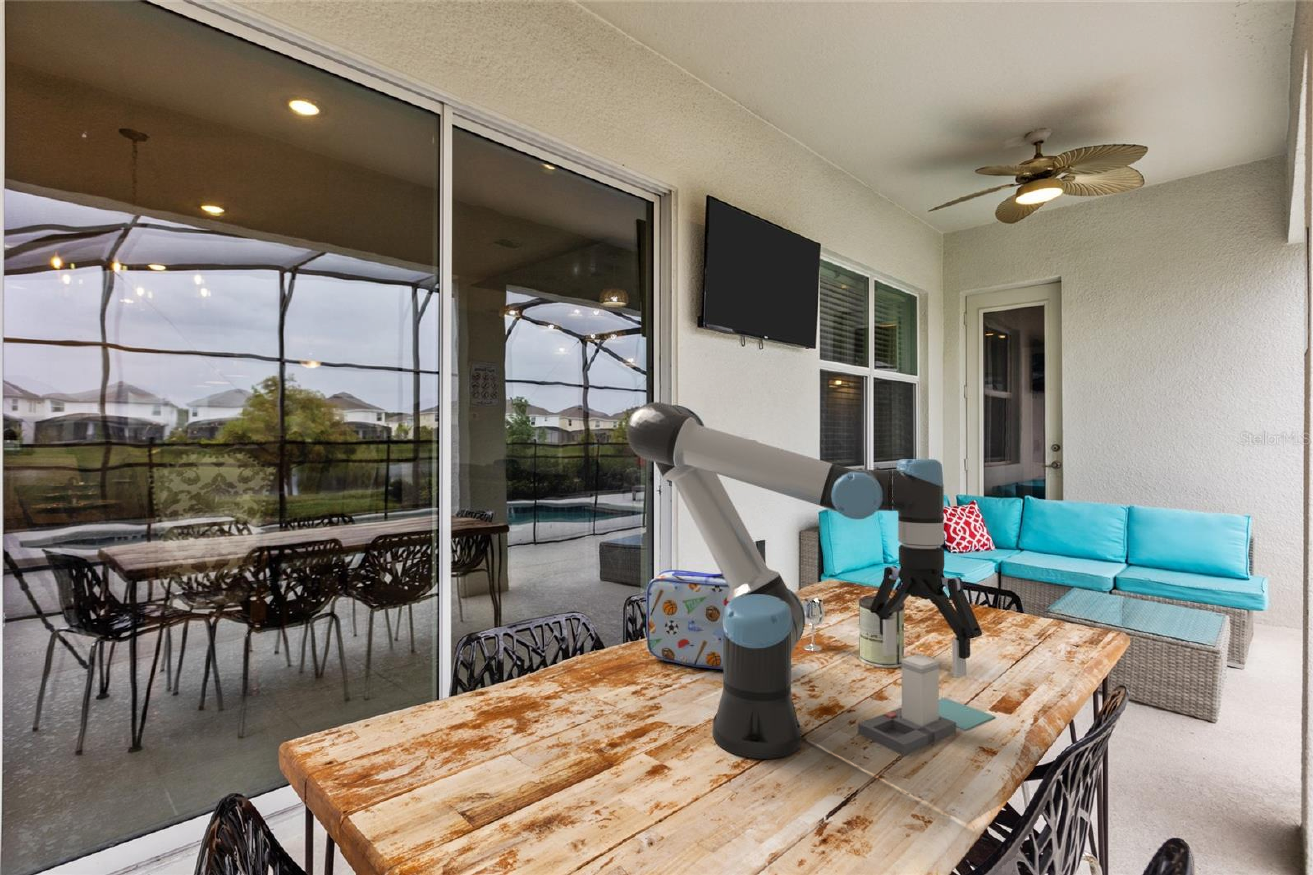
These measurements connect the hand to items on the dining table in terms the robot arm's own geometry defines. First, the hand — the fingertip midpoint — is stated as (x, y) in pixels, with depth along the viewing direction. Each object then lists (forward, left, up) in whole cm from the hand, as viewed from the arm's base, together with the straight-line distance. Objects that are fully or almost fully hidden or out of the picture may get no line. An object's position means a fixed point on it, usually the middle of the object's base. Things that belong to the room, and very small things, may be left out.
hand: (922, 664), depth 109 cm
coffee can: (+26, +27, -12) cm, 39 cm away
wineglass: (+19, +42, -12) cm, 48 cm away
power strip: (-4, 0, -12) cm, 13 cm away
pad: (+11, 0, -12) cm, 16 cm away
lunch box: (-11, +48, -12) cm, 51 cm away
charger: (0, 0, -11) cm, 11 cm away
